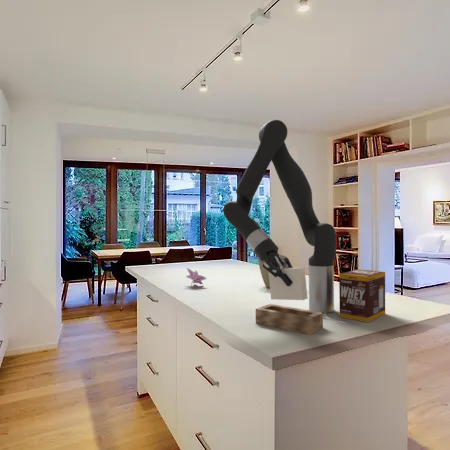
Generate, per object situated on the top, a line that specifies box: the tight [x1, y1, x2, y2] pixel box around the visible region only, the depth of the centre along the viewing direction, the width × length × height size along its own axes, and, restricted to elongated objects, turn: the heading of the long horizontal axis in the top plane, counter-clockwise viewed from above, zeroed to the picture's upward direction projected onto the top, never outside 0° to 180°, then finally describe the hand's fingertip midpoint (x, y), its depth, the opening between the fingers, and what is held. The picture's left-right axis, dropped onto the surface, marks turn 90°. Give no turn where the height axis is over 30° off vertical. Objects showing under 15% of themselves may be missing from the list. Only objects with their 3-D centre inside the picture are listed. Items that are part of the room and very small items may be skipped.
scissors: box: [323, 313, 350, 328], centre depth 125 cm, size 11×1×20 cm
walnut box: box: [255, 303, 324, 335], centre depth 118 cm, size 20×9×5 cm, turn 50°
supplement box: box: [338, 268, 386, 323], centre depth 129 cm, size 10×15×16 cm
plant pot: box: [257, 254, 287, 288], centre depth 187 cm, size 15×15×16 cm
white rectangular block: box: [268, 267, 309, 301], centre depth 118 cm, size 12×3×10 cm, turn 50°
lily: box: [185, 267, 207, 286], centre depth 190 cm, size 12×12×10 cm
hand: (293, 283), depth 117 cm, fingers closed on white rectangular block, 3 cm apart
